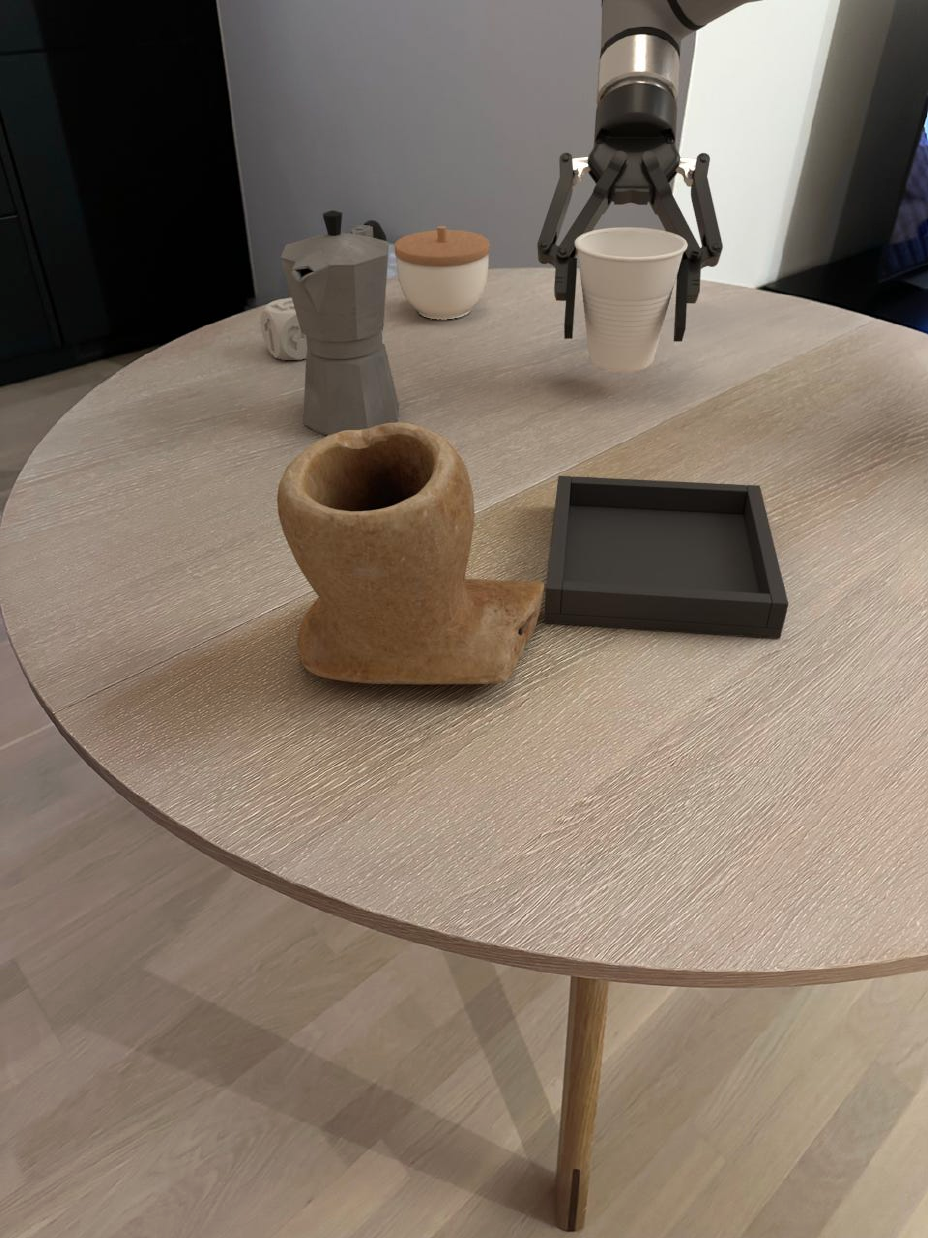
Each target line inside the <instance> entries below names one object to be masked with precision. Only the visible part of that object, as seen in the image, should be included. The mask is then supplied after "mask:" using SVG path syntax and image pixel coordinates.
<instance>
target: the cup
mask: <svg viewBox="0 0 928 1238" xmlns="http://www.w3.org/2000/svg"><path fill="white" fill-rule="evenodd" d="M687 246H688V244H687V241H686V240H685V239H684V238H682V237H681V236H679V235H677V234H674V233H671V232H667V231H666V230H663V229H657V228H651V227H650V228H649V227H638V226H637V227H635V226H619V227H606V228H600V229H595V230H594V229H593V230H592V231H590V232H587V233H584V234H582V235H580V236H579V237H578V238H577V239H576V240H575V247H576V248H577V250H578V254H577V256H578V258H577V259H578V267H579V277H580V285H581V293H582V295H581V296H582V303H583V313H584V323H585V334H586V344H587V345H586V346H587V354H588V359H589V361H590V362H591V363H592V364H593V365H594V366H595V367H597V368H599V369H601V370H605V371H608V372H614V373H632V372H638V371H641V370H644V369H645V368H647V367H648V366H649V365H651V364H652V363H653V362H654V359H655V356H656V352H657V349H658V345H659V343H660V337H661V334H662V330H663V326H664V322H665V320H666V315H667V312H668V310H669V309H668V308H669V305H670V301H671V297H672V294H673V291H674V288H675V285H676V282H677V273H678V270H679V266H680V263H681V259H682V255H683V252H684V251H685V250H686V249H687Z"/></svg>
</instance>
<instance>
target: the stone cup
mask: <svg viewBox="0 0 928 1238" xmlns="http://www.w3.org/2000/svg"><path fill="white" fill-rule="evenodd" d="M276 502H277V504H276V505H277V515H278V519H279V522H280V525H281V530H282V532H283V535H284V537H285V539H286V540H285V541H286V542H287V544H288V547H289V549H290V552H291V553H292V555H293V556H292V557H293V558H294V560H295V563H296V564H297V566H298V568H299V569H300V571H301V573H302V574H303V576H304V577H305V579H306V581H307V582H308V584H309V585H310V587H311V588H312V589H313V591H314V592H315V594H316V595H317V596H318V597H317V599H316V600H315V601H314V602H313V604H311V606H310V607H309V609H308V610H307V612H306V613H305V615H304V617H303V619H302V621H301V623H300V626H299V631H298V634H297V641H296V651H297V653H299V654H300V661H301V663H302V666H303V667H304V668H305V669H306V670H307V671H308V672H310V673H311V674H313V675H315V676H318V677H320V678H325V679H329V680H336V681H342V682H347V683H355V684H356V683H357V684H370V685H371V684H372V685H379V684H380V685H493V684H494V685H495V684H504V683H506V682H507V681H509V677H510V676H511V675H512V674H513V673H514V672H515V671H516V670H517V666H518V664H519V661H520V659H521V658H522V657H523V655H524V653H525V646H526V645H527V643H529V641H530V639H531V637H532V636H533V634H534V632H535V630H536V627H537V624H538V623H537V622H538V618H539V616H540V612H541V609H542V603H543V599H544V596H545V593H546V584H545V583H544V582H543V581H541V580H508V579H507V580H505V579H489V578H487V579H486V578H466V574H467V568H468V564H469V559H470V554H471V553H470V552H471V546H472V541H473V534H474V525H475V515H476V513H475V501H474V493H473V487H472V482H471V479H470V475H469V472H468V469H467V466H466V464H465V462H464V460H463V458H462V457H461V455H460V454H459V453H458V451H457V450H456V449H455V448H454V446H453V445H452V444H451V443H450V442H449V440H447V439H446V438H445V437H444V436H442V434H441V435H440V434H438V433H437V432H434V431H433V430H431V429H429V428H426V427H424V426H420V425H417V424H413V423H408V422H395V423H386V424H381V425H378V426H374V427H372V428H368V429H362V430H345V431H341V432H338V433H335V434H332V435H328V436H327V435H325V436H324V437H323V438H321V439H318V440H316V441H315V442H314V443H312V444H311V445H309V446H307V447H306V448H305V449H304V450H303V451H302V452H300V453H299V454H298V455H297V456H295V458H293V460H291V462H290V463H289V464H288V465H287V466H286V468H285V471H284V472H283V475H282V477H281V479H280V482H279V484H278V489H277V494H276Z"/></svg>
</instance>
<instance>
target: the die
mask: <svg viewBox="0 0 928 1238" xmlns="http://www.w3.org/2000/svg"><path fill="white" fill-rule="evenodd" d="M260 328H261V334H262V338H263V341H264V343H265V346H266V348H267V351H268V352H269V353H270V355H271V356H272V355H273V356H272V357H273V358H275V359H277V358H278V359H277V360H280V359H282V360H281V361H285V360H297V361H302V360H303V359H304V360H306V354H307V341H306V335H305V334H303V333H301V330H300V326H299V323H298V319H297V315H296V312H295V308H294V304H293V301H292V297H287V298H280V299H276V300H273V301H271V302H269V303H267V304H266V305H265V307H264V308H263V309H262V311H261V314H260Z"/></svg>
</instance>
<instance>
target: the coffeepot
mask: <svg viewBox="0 0 928 1238" xmlns="http://www.w3.org/2000/svg"><path fill="white" fill-rule="evenodd" d="M322 217H323V222H324V224H325V228H326V232H327V233H325V234H320V235H316V236H312V237H308V238H306V239H302V240H298V241H294V242H290V243H287V244H286V245H285V247H284V248H283V251H282V253H281V256H280V260H281V263H282V268H283V272H284V275H285V279H286V283H287V286H288V290H289V293H290V298H292V301H293V304H294V308H295V312H296V315H297V319H298V323H299V326H300V330H301V333H303V334H305V335H306V341H307V354H306V359H305V372H304V373H305V374H304V398H303V418H302V419H303V420H302V423H303V425H305V426H306V427H308V428H309V429H310V430H312V431H313V432H315V433H318V434H321V435H323V436H328V435H332V434H335V433H338V432H341V431H345V430H362V429H368V428H372V427H374V426H378V425H381V424H386V423H397V422H398V420H399V405H400V404H399V400H398V395H397V391H396V386H395V383H394V378H393V375H392V370H391V365H390V362H389V357H388V354H387V350H386V345H385V343H383V330H384V325H385V324H384V323H385V312H386V311H385V310H386V309H385V308H386V296H387V295H386V294H387V280H388V279H387V278H388V263H389V249H390V242H389V241H388V239H387V236H386V233H385V232H384V230H383V228H382V226H381V225H380V223H379V222H378V221H376V220H373V219H372V220H371V219H369V220H367V221H366V222H364V223H363V224H362V225H359V224H358V225H356V226H355V227H352V228H350V233H348V232H342V221H343V212H341V211H337V210H334V209H333V210H328V211H325V212H323V213H322Z"/></svg>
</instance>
